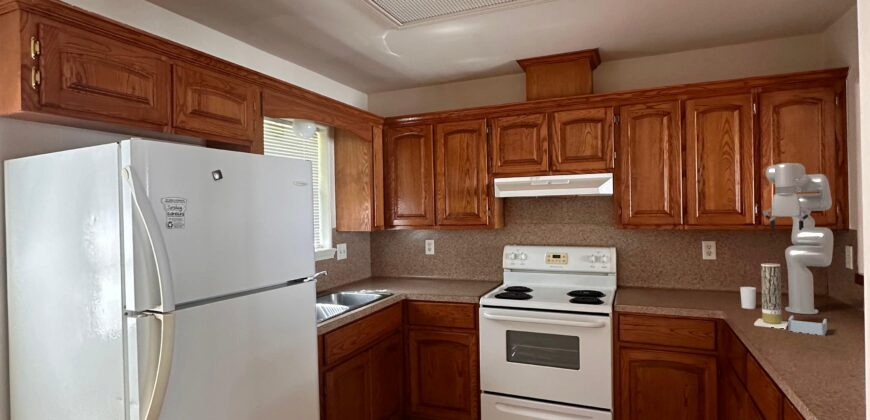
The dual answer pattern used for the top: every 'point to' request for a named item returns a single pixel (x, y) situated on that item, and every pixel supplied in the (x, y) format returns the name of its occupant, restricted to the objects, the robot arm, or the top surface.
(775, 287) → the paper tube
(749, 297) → the drinking glass
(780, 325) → the tile
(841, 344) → the top surface
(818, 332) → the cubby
